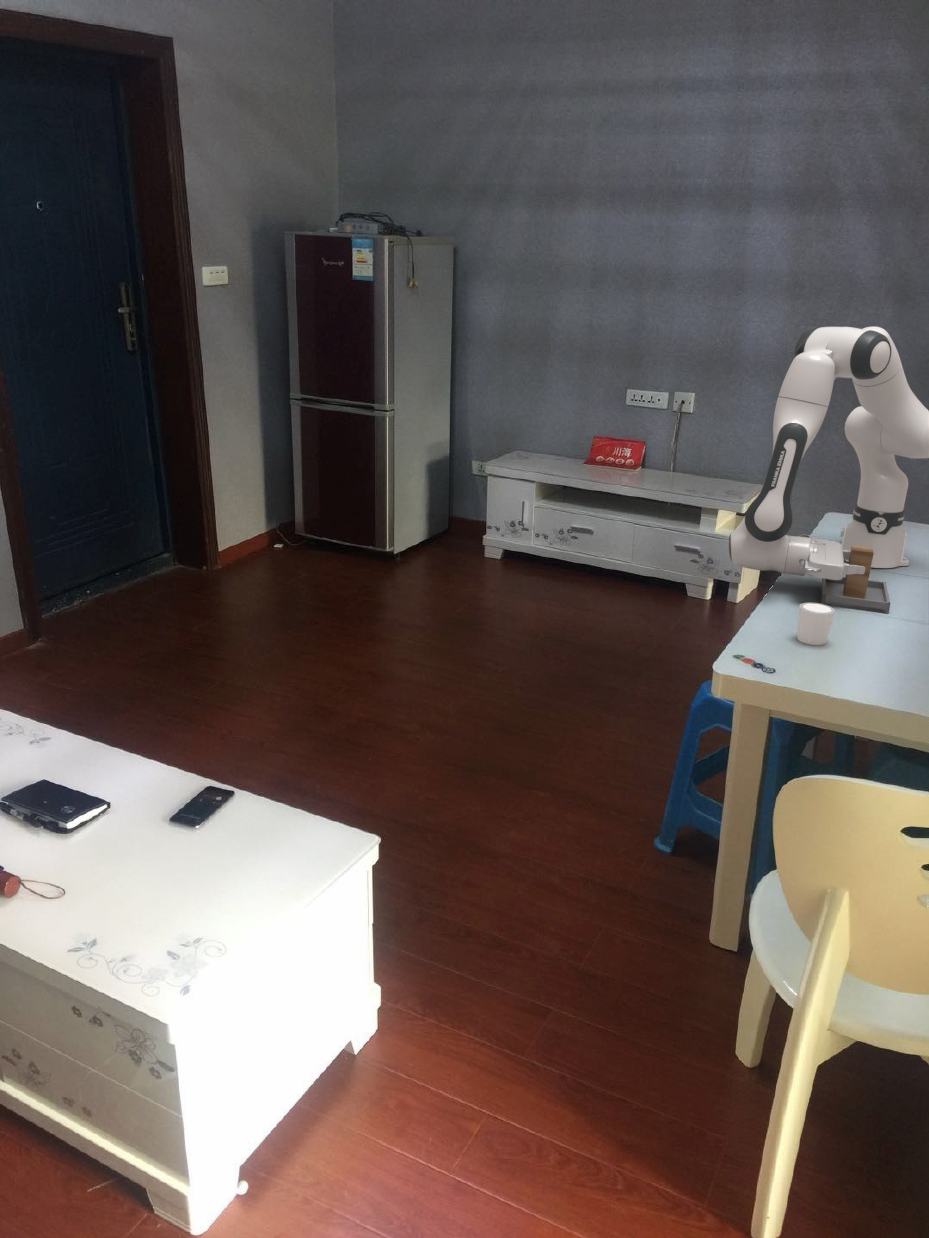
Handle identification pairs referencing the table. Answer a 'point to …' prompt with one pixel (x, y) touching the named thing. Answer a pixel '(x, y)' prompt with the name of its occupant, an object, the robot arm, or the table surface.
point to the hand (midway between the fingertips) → (863, 564)
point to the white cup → (814, 623)
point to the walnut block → (858, 582)
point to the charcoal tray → (873, 599)
